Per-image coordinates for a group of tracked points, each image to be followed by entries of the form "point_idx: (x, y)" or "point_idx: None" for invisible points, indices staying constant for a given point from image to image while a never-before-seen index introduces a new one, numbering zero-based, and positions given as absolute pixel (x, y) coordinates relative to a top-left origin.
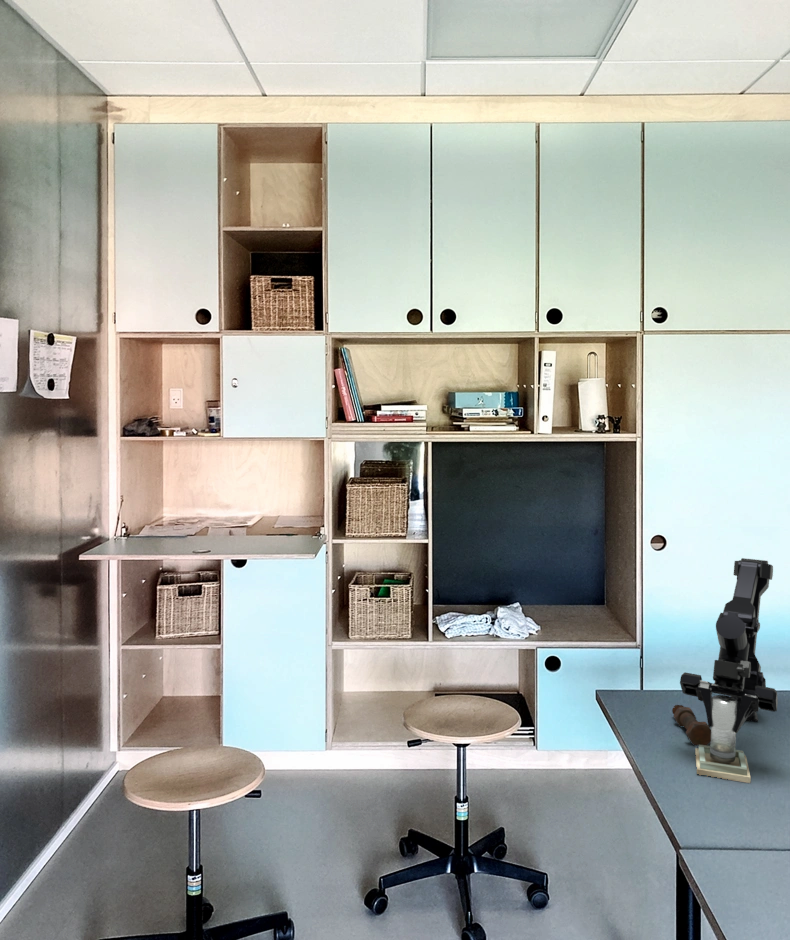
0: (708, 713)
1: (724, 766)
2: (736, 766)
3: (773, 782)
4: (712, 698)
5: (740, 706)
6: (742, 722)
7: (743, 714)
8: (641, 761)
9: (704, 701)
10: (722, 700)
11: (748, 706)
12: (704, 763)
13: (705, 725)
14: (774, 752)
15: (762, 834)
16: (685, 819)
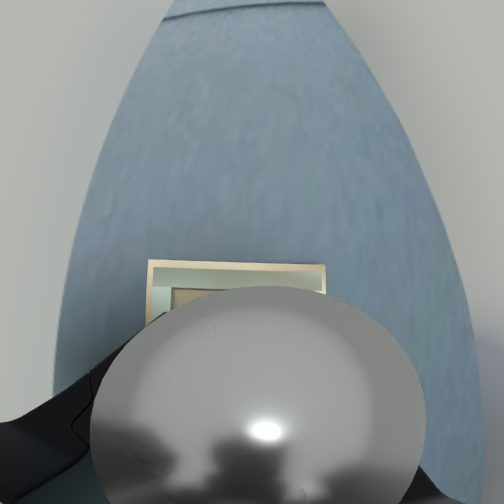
0: None
1: (234, 270)
2: (189, 285)
3: (85, 292)
4: (424, 431)
5: (85, 448)
6: None
7: (82, 382)
8: (456, 300)
9: (422, 476)
10: (304, 427)
11: (14, 425)
12: (307, 272)
13: None
14: None
15: (184, 42)
16: (331, 56)
